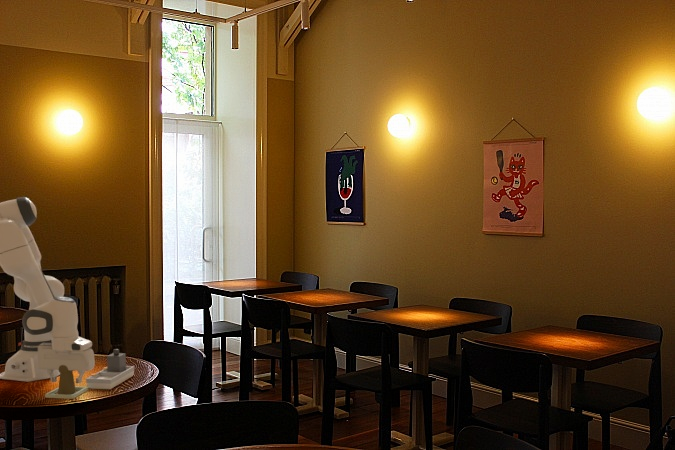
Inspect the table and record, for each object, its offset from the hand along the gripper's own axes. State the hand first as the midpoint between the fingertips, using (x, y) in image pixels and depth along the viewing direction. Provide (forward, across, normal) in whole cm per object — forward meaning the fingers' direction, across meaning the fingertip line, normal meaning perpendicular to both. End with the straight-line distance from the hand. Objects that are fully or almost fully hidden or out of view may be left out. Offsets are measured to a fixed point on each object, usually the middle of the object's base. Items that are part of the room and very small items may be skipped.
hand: (66, 382), depth 252 cm
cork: (+4, 0, 0) cm, 4 cm away
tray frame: (+4, 0, 0) cm, 4 cm away
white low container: (+4, +8, +17) cm, 19 cm away
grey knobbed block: (+2, +8, +22) cm, 23 cm away
